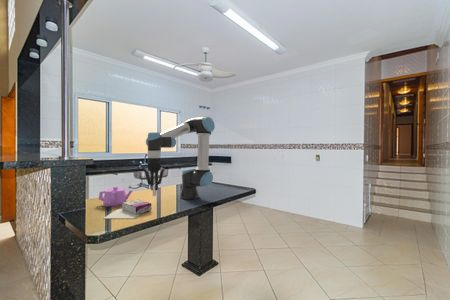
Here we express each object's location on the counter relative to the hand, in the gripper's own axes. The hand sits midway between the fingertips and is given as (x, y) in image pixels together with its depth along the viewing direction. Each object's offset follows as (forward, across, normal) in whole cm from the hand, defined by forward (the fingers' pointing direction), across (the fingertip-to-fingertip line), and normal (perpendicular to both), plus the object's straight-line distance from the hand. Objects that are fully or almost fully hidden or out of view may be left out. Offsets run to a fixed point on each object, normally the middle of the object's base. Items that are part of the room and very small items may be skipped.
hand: (154, 195), depth 139 cm
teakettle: (+12, +35, -24) cm, 44 cm away
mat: (+11, +18, 0) cm, 21 cm away
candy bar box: (+9, +7, -1) cm, 11 cm away
